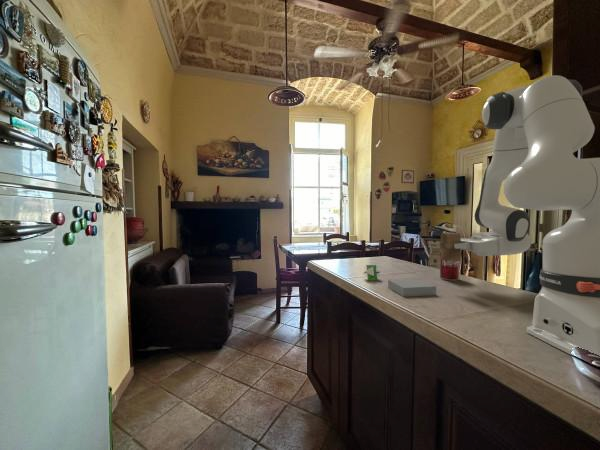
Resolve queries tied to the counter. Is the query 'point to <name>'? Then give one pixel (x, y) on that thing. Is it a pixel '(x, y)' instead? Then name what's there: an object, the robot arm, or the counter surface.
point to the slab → (411, 287)
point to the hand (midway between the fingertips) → (448, 245)
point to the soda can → (449, 270)
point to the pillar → (450, 246)
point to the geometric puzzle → (371, 272)
